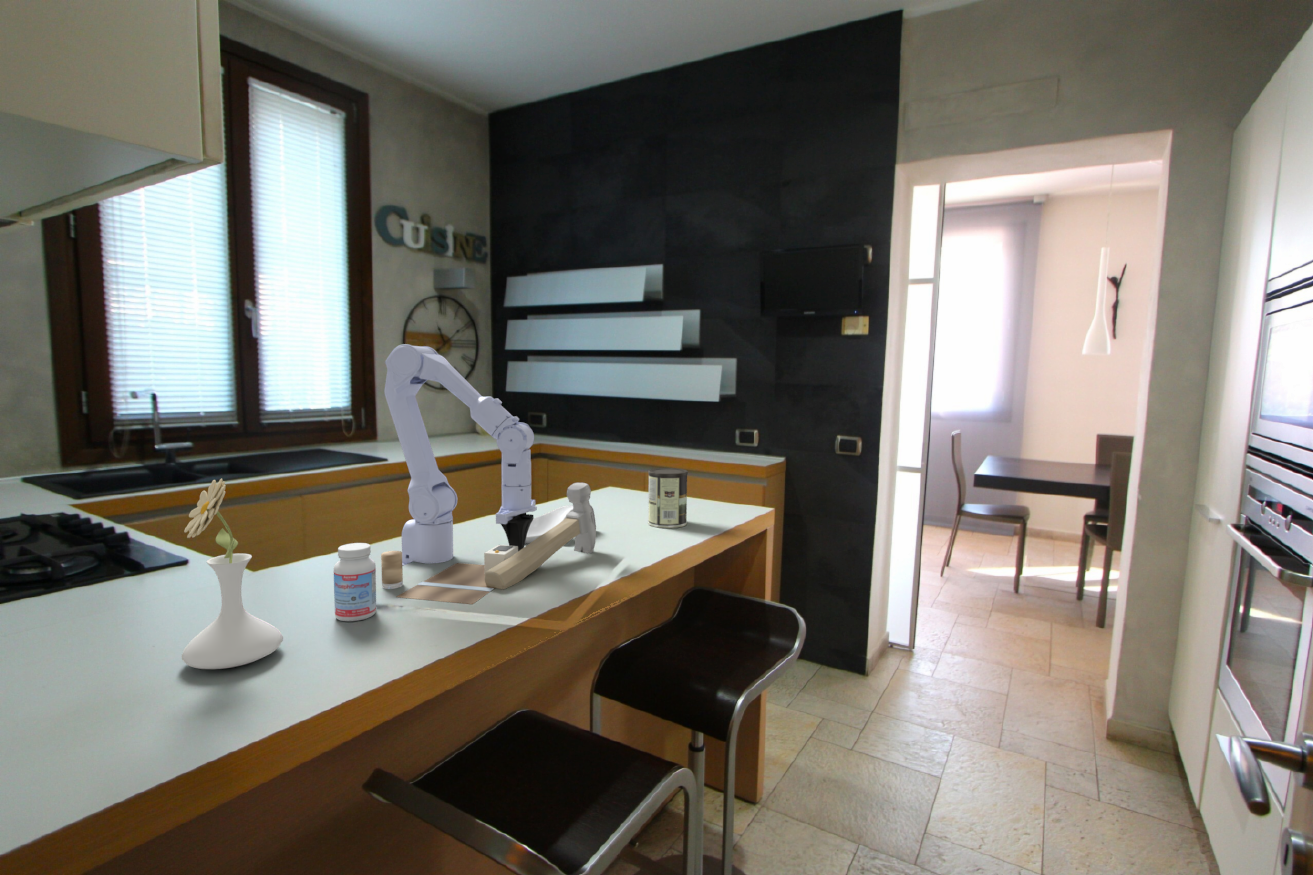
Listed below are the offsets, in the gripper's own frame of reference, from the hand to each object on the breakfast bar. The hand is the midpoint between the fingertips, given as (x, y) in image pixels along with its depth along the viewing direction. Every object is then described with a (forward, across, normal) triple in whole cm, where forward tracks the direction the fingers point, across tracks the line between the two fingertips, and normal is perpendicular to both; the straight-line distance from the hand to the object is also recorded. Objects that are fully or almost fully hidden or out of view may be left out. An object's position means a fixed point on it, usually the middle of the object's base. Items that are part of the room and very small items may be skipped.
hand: (516, 551), depth 128 cm
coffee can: (+3, +45, -22) cm, 50 cm away
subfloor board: (+3, -14, +4) cm, 15 cm away
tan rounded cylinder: (+3, -19, +15) cm, 24 cm away
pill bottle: (+3, -30, +14) cm, 33 cm away
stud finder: (+2, -7, 0) cm, 7 cm away
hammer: (+4, -2, -7) cm, 8 cm away
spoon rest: (+4, +23, +1) cm, 24 cm away
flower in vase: (+3, -48, +19) cm, 52 cm away
